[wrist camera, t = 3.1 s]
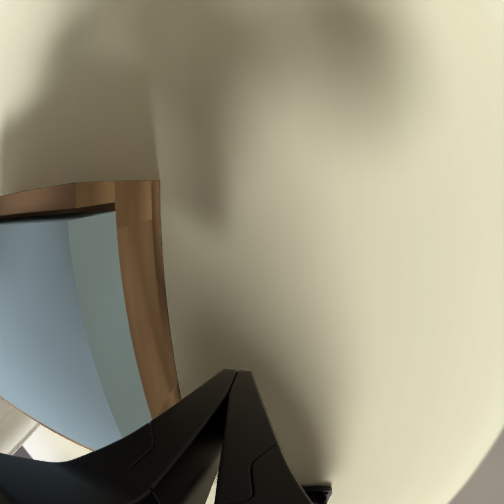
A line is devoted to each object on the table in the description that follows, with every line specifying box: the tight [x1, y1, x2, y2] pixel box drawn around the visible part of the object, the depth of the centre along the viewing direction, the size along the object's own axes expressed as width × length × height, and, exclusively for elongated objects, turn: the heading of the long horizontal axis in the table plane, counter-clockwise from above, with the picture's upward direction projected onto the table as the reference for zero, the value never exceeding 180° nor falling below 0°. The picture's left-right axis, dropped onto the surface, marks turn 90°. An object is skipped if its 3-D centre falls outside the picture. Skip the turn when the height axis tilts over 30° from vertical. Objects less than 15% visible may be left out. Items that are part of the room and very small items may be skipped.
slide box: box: [0, 180, 181, 451], centre depth 11 cm, size 12×12×6 cm
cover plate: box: [0, 211, 152, 450], centre depth 9 cm, size 12×10×2 cm
